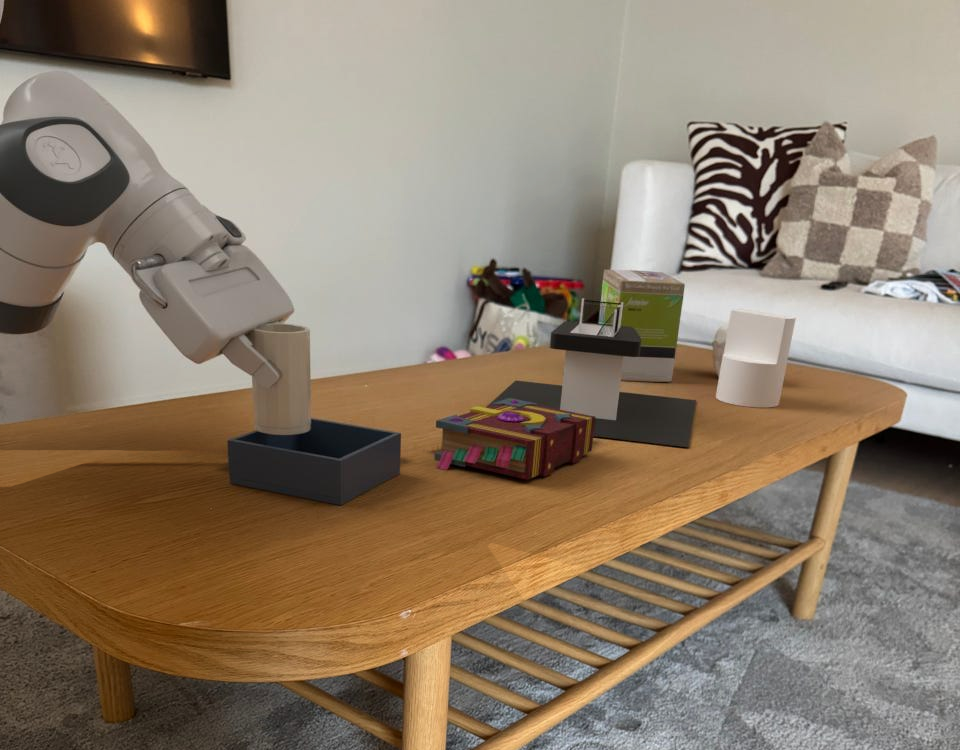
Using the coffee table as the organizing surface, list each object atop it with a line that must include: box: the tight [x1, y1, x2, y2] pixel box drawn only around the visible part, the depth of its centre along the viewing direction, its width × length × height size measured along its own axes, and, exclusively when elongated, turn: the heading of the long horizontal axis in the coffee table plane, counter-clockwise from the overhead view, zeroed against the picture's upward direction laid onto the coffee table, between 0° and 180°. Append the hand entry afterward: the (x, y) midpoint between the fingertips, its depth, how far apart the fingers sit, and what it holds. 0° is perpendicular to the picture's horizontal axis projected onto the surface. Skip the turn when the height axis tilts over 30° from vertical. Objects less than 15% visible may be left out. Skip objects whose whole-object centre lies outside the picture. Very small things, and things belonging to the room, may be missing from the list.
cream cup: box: [250, 323, 312, 435], centre depth 87 cm, size 5×5×9 cm
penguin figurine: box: [711, 320, 729, 378], centre depth 152 cm, size 6×8×12 cm
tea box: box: [598, 269, 686, 383], centre depth 150 cm, size 15×10×15 cm, turn 3°
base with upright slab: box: [715, 308, 797, 409], centre depth 136 cm, size 9×9×12 cm
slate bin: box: [227, 417, 402, 506], centre depth 91 cm, size 12×12×4 cm
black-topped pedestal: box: [486, 298, 697, 448], centre depth 123 cm, size 28×26×13 cm
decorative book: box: [434, 398, 595, 481], centre depth 101 cm, size 11×16×5 cm
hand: (287, 376), depth 87 cm, fingers closed on cream cup, 5 cm apart
